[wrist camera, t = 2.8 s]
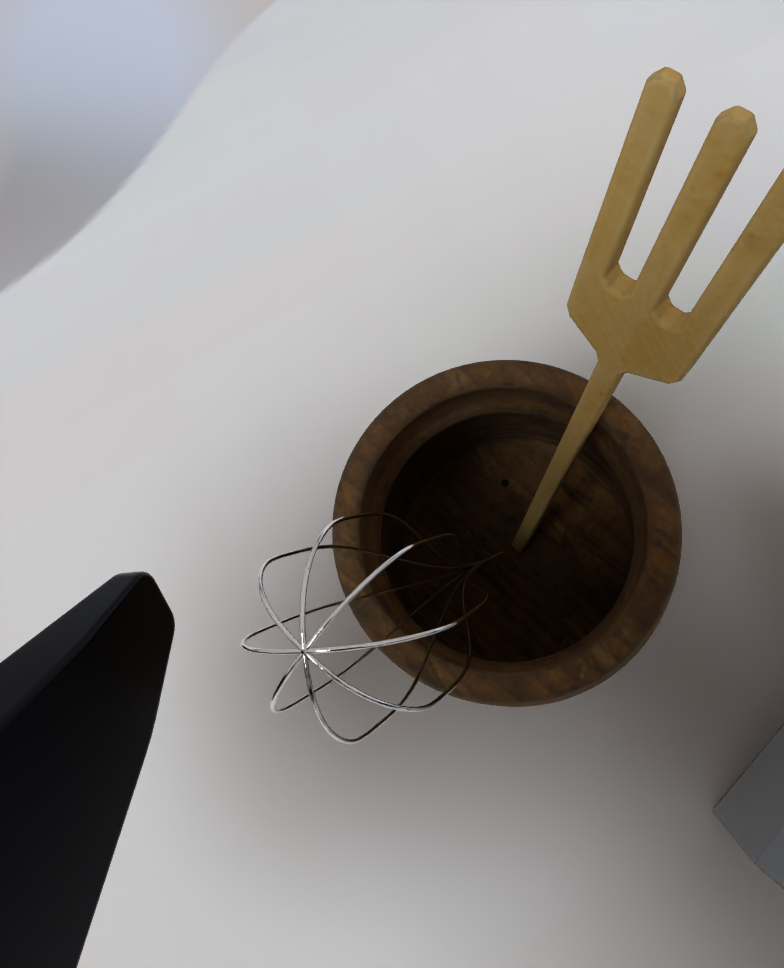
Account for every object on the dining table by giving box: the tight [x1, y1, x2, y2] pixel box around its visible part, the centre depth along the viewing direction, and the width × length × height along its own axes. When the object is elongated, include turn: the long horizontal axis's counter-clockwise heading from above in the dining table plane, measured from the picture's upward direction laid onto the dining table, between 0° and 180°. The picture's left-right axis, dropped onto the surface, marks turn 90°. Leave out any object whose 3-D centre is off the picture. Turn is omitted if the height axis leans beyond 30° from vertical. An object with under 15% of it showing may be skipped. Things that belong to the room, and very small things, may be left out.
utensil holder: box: [241, 67, 784, 744], centre depth 11 cm, size 6×6×12 cm
